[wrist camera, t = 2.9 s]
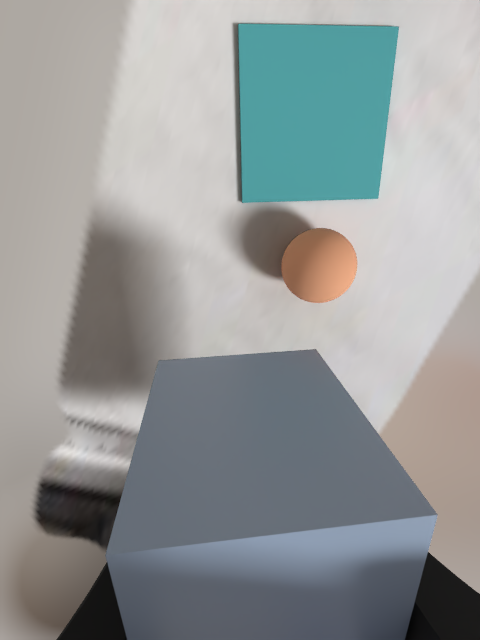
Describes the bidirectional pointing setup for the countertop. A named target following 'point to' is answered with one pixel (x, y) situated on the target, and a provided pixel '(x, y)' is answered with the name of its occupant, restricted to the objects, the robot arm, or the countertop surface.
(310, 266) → the egg
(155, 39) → the countertop surface
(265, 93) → the mark
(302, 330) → the countertop surface
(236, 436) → the matte gray cuboid
